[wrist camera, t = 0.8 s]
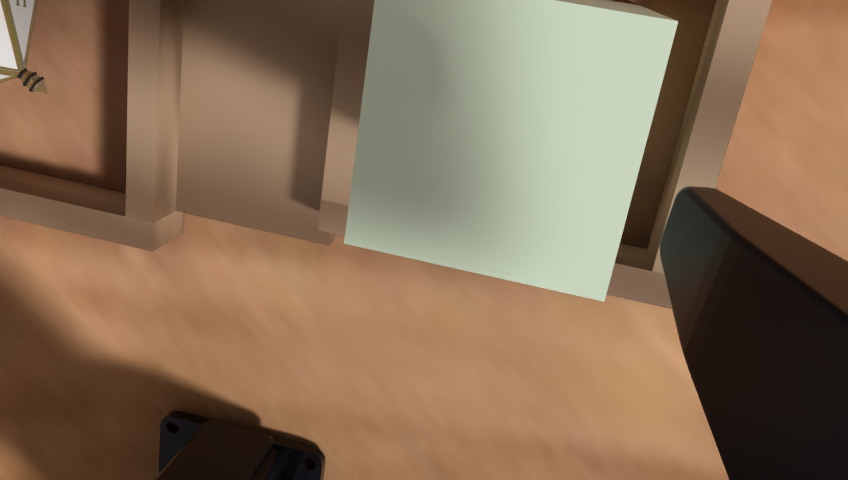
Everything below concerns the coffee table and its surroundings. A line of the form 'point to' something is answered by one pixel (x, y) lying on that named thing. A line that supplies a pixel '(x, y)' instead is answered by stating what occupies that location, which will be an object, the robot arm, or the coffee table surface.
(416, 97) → the block
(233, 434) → the robot arm
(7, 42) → the game die
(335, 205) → the wooden double frame
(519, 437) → the coffee table surface
